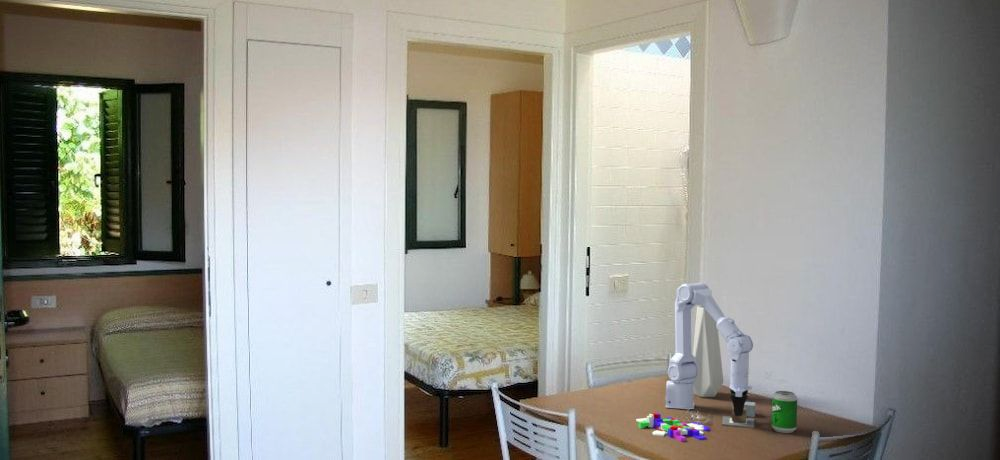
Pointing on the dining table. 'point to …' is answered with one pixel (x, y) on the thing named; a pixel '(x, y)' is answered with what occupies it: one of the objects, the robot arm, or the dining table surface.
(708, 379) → the vase
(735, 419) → the walnut block
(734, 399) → the robot arm
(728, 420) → the grey flat square plate
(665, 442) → the dining table surface
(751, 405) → the pale grey cube
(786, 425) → the soda can
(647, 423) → the building block set
